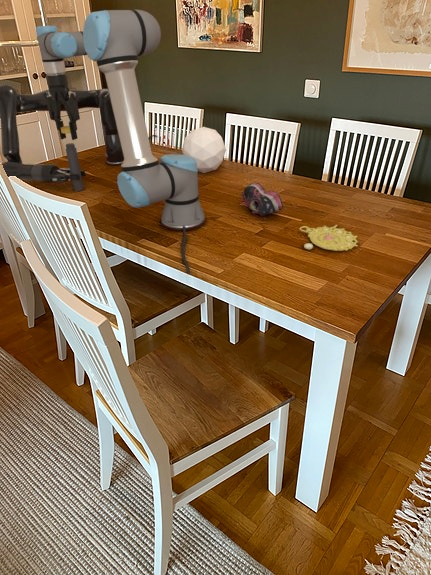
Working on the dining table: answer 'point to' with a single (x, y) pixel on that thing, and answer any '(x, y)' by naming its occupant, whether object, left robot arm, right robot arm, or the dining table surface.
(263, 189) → the athletic shoe
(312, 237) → the decorative object
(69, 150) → the dark grey cylinder
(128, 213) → the dining table surface
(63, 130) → the lid
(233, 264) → the dining table surface
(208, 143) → the sphere
